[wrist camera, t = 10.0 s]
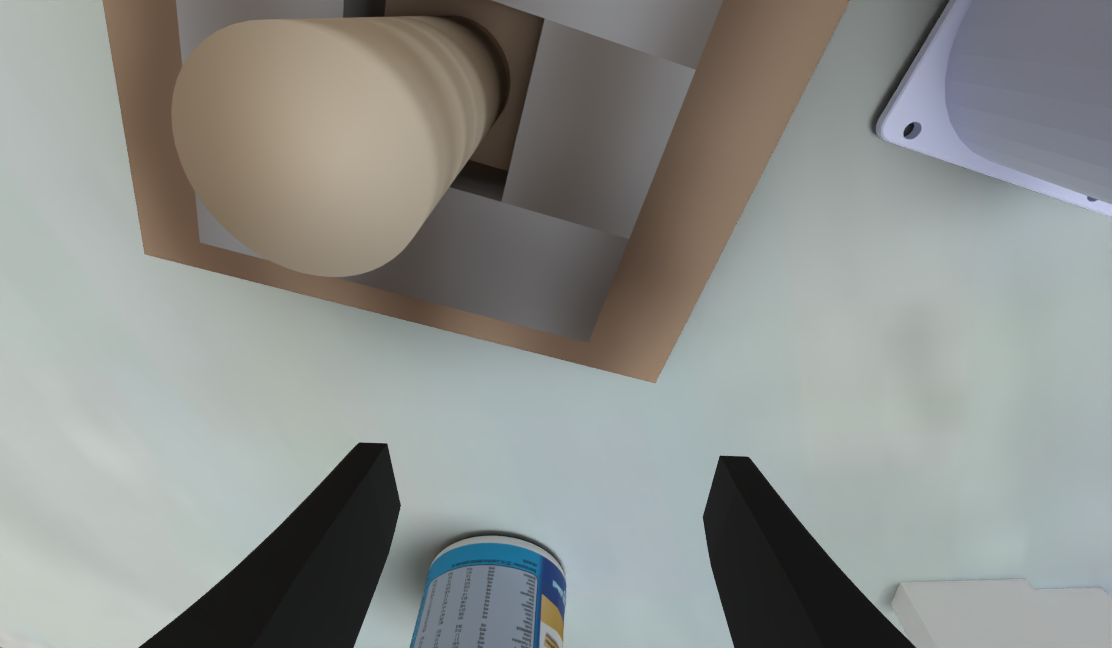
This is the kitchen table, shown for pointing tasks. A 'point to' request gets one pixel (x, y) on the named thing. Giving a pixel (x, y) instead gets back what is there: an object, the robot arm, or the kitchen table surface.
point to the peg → (334, 130)
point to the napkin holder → (1002, 615)
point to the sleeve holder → (528, 164)
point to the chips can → (492, 597)
